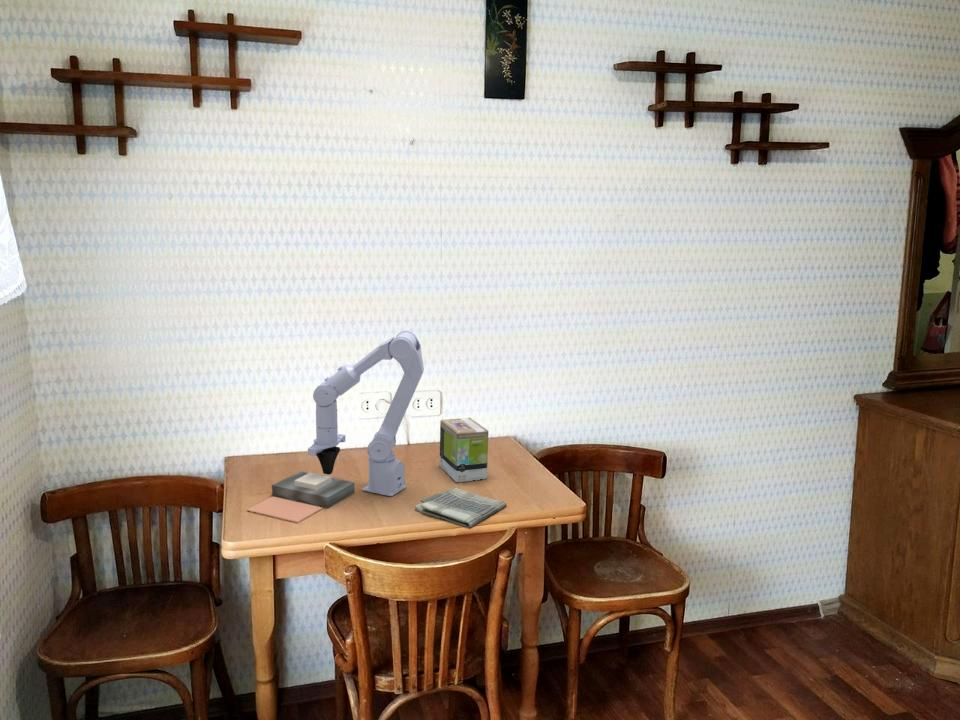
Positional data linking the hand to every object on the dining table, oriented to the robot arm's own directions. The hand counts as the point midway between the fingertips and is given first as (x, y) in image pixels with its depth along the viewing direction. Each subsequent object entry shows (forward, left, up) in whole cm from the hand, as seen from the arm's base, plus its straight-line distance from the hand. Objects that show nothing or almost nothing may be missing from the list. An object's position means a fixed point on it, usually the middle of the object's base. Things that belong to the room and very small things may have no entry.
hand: (327, 473), depth 212 cm
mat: (0, +18, -4) cm, 19 cm away
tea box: (-28, -28, -4) cm, 39 cm away
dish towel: (-39, -4, -5) cm, 39 cm away
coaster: (0, +6, -1) cm, 7 cm away
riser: (0, +6, -4) cm, 8 cm away
